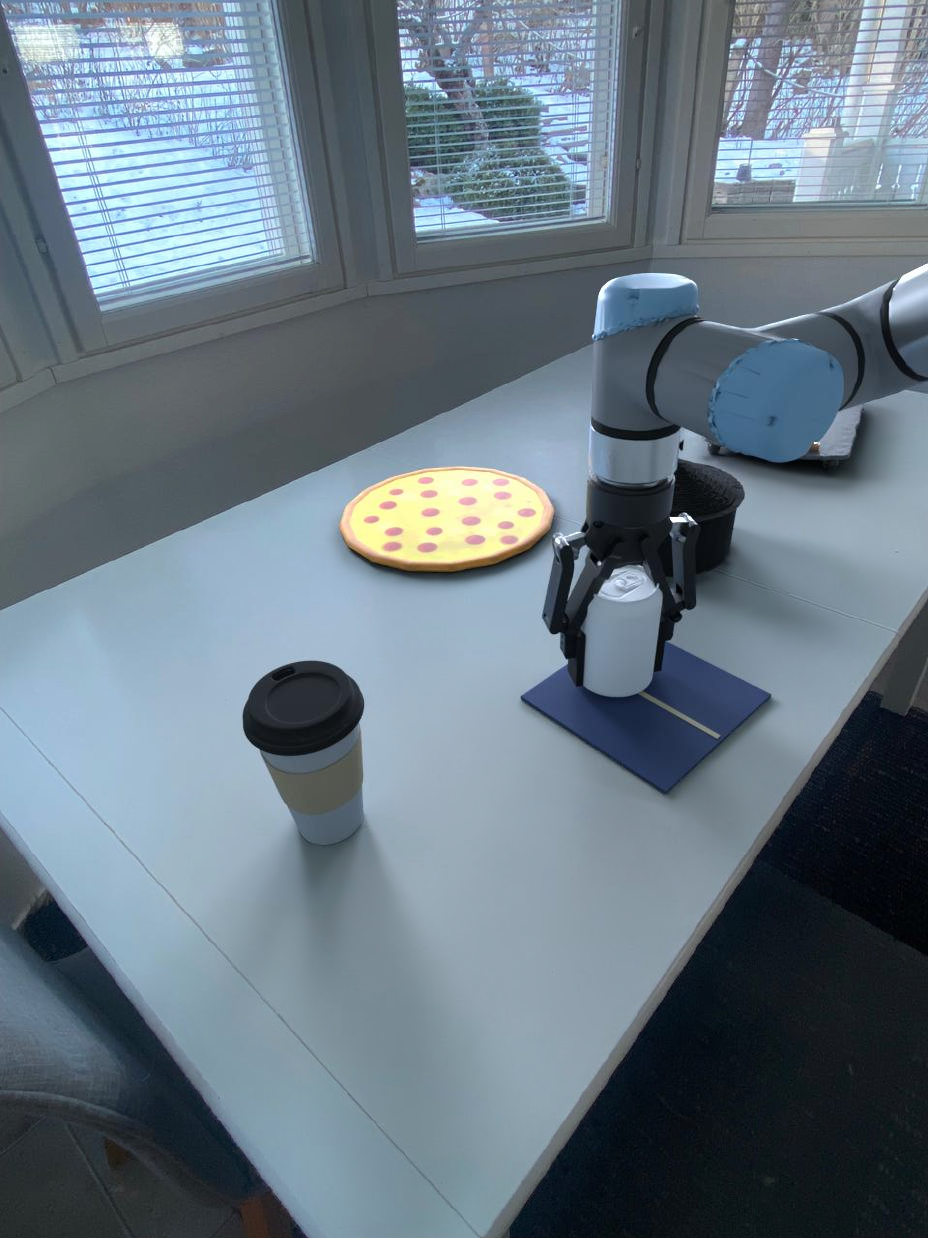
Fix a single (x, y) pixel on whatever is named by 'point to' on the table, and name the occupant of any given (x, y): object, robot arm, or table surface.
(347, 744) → the coffee cup
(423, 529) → the pizza
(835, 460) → the serving tray
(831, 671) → the table surface
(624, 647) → the beverage can
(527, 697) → the napkin
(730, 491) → the black round tub
